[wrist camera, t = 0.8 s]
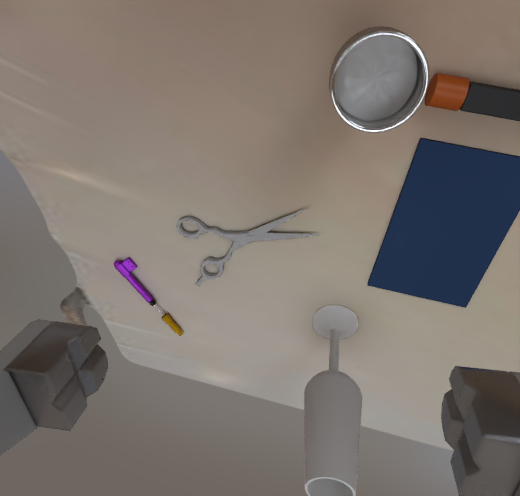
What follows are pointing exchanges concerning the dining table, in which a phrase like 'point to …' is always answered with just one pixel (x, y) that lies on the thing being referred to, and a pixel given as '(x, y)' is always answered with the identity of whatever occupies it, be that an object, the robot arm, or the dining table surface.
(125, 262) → the purple and yellow rod
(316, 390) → the champagne flute
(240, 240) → the scissors
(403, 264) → the mat
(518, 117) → the marker
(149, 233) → the dining table surface
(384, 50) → the beer glass
